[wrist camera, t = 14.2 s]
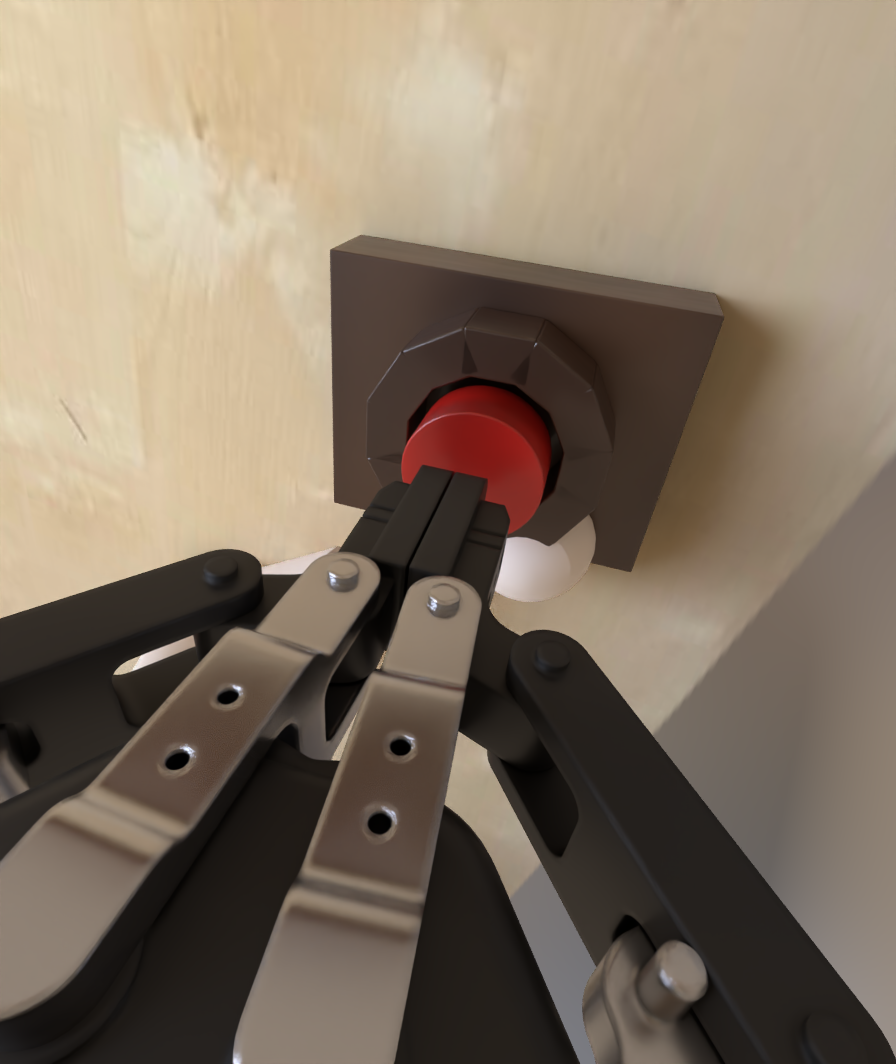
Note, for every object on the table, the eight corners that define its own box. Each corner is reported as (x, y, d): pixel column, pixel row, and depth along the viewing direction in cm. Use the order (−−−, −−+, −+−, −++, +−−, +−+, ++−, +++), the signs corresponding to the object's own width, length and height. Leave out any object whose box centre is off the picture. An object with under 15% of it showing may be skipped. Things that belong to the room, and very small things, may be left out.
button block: (716, 293, 16) (734, 340, 13) (631, 533, 21) (630, 610, 18) (360, 234, 18) (298, 263, 14) (357, 471, 22) (310, 532, 19)
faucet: (577, 483, 25) (664, 623, 16) (217, 640, 28) (126, 832, 19) (543, 396, 23) (619, 500, 15) (162, 572, 26) (34, 750, 17)
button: (565, 399, 15) (557, 429, 14) (537, 517, 17) (529, 554, 16) (425, 372, 16) (404, 398, 14) (416, 490, 18) (397, 523, 16)
